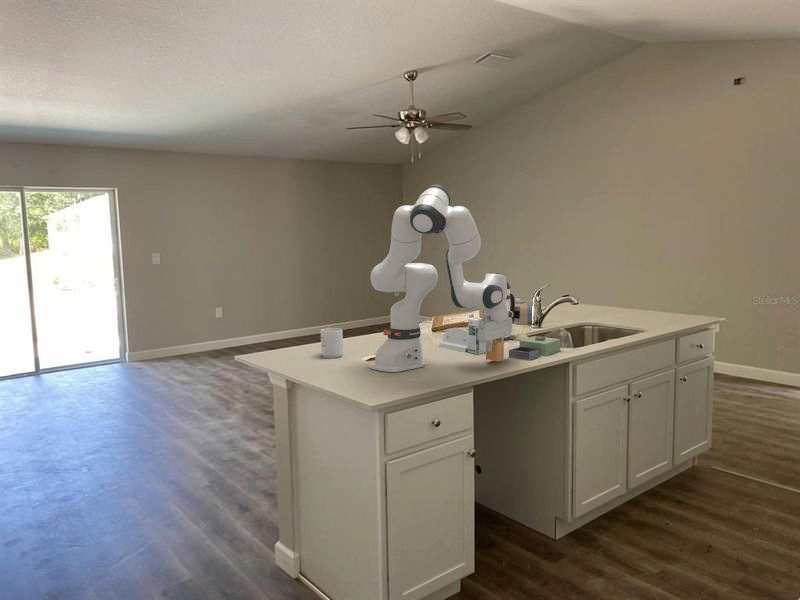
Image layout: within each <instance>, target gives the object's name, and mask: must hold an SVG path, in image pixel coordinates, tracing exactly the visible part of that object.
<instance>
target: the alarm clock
mask: <svg viewBox="0 0 800 600" xmlns="http://www.w3.org/2000/svg"><path fill="white" fill-rule="evenodd" d="M532 306H533V303H527V302H526V301H525V300H515V318H514V322H513V324H516V325H528V326H530V324H532ZM510 311H511V302H510ZM532 325H533V324H532Z"/></svg>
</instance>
